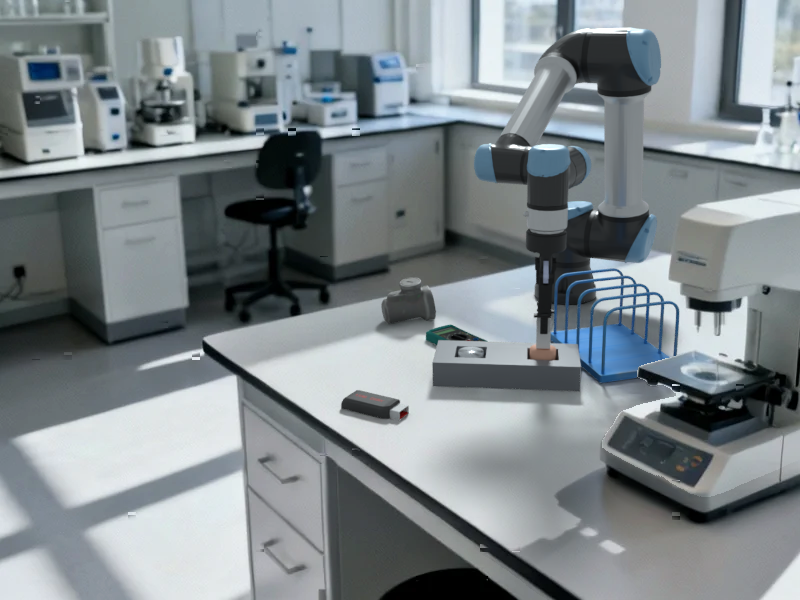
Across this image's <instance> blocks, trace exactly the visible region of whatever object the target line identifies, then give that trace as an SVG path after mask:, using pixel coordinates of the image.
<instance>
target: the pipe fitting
mask: <svg viewBox="0 0 800 600" xmlns="http://www.w3.org/2000/svg"><path fill="white" fill-rule="evenodd" d="M398 284H399V288H400V289H399V290H396V291H390V292H389V293H388V294H387V295H386V296H387V297H386V298H384V299H383V300H382V302H381V312H382V318H383V319H384V322H385V323H387V324H388V325H391V324H396V323H400V322H405V321H409V320H415V319H419V318H420V319H422V320H424V321H433V320H436V318H437V316H436V315H437V310H436V304H435V299H434V295H433V292H432V289H431V287H430V286H429V285H423V286H422V280H421V278H419V277H412V276H411V277H406V278H403V279H401V280H400V281H399V283H398Z"/></svg>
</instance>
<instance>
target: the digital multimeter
mask: <svg viewBox="0 0 800 600" xmlns="http://www.w3.org/2000/svg"><path fill="white" fill-rule="evenodd" d="M425 340H426V342H430V343H431V344H434V345H435V346H437V344H438V340H450V341H486V342H489V341H488V340H487V339H484V338H482V337H479V336H477V335H474V334H473V333H470V332H468V331H466V330H463V329H462V328H460V327H457V326H455V325H454V324H445V325H441V326H437V327H434V328H431V329H428V330H427V331H426V332H425Z"/></svg>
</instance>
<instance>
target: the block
mask: <svg viewBox="0 0 800 600" xmlns="http://www.w3.org/2000/svg"><path fill="white" fill-rule="evenodd" d="M486 341H487V340H486ZM486 341H450V340H438V344H437V345H436V349H435V350H434V351H435V352H434V355H433V359H432V364H431V365H432V387H436V388H437V387H441V388H444V387H445V388H465V389H466V388H467V389H468V388H469V389H494V390H495V389H498V390H499V389H501V390H502V389H503V390H522V391H523V390H525V391H527V390H529V391H530V390H531V391H553V392H555V391H556V392H557V391H559V392H580V391H581V374H582V373H581V372H582V367H581V364H580V356H579V348H578V344H557V343H554V342H552V343H551V342H550V345H552V346H554V347H555V348H556V360H530V347H531V346H532V345H535V344H536V342H520V341H519V342H517V341H515V342H513V341H488V342H486ZM463 347H478V348H481V349H483V351H484V358H464V357H458V350H459V349H461V348H463Z"/></svg>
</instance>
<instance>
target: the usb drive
mask: <svg viewBox="0 0 800 600" xmlns="http://www.w3.org/2000/svg"><path fill="white" fill-rule="evenodd" d="M340 406H341V407H340V408H341V410H345V411H348V412H353V413H357V414H361V415H365V416H368V417H369V416H370V417H373V418H377V419H382V420H388V419H389V420H390V419H392V420H395V421H401V420H402V419H404V418H405V417H406V416H408V415H409V414H410V413H409V412H410V411H409V407H410V406H409V405H408V404H404V403H401V400H400V399H399V398H393V397H389V396H385V395H383V394H382V395H381V394H377V393H373V392H368V391H363V390H360V389H357V390H355V391H354V392H352V393H350V394H348V395H347V396H346V397H344V398H343V399H342V401H341V405H340Z"/></svg>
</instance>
